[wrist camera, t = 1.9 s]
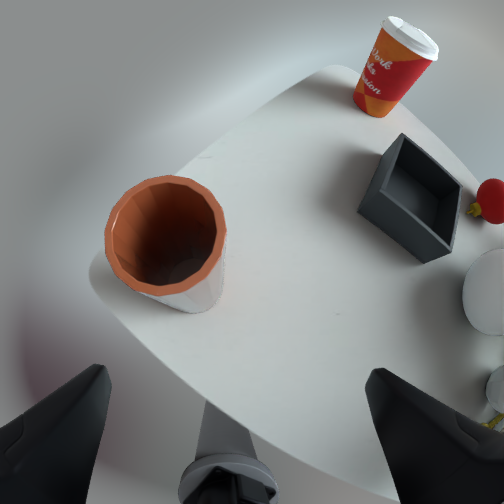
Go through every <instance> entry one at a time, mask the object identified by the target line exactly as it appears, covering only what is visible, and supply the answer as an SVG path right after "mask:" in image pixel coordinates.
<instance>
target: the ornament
mask: <svg viewBox="0 0 504 504" xmlns="http://www.w3.org/2000/svg"><path fill="white" fill-rule="evenodd" d="M462 298H463V307H464V311H465V314H466V316H467V318H468V320H469V322H470V323H471V324H472V326H473V327H474V328H476V329H477V330H478V331H480V332H482V333H484V334H487V335H492V336H499V335H504V249H495V250H491V251H488V252H486V253H484V254H483V255H481V256H480V257H479V258H478V259H477V260H476V261H475V262H474V263H473V264H472V266H471V267H470V269H469V271H468V273H467V275H466V278H465V281H464V285H463V294H462Z"/></svg>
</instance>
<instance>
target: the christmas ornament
mask: <svg viewBox="0 0 504 504" xmlns="http://www.w3.org/2000/svg"><path fill="white" fill-rule="evenodd" d="M466 213H467V214H469V213H471V214H472V215H473V216H474V217H476V216H478V215H481V216H482V217H483V218H484V219H485V220H486V221H488V222H489V223H492V224H502V223H504V182H503V181H501V180H499V179H488V180H486V181H484V182H483V183H482V184H481V185H480V187H479V189H478V191H477V196H476V202H475V203H473V204H470V210H469V211H467V212H466Z"/></svg>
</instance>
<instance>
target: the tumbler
mask: <svg viewBox="0 0 504 504" xmlns="http://www.w3.org/2000/svg"><path fill="white" fill-rule="evenodd" d="M226 237H227V229H226V224H225V219H224V213H223V209H222V207H221V206H220V204H219V203H218V201H217V200H216V199H215V197H214V196H213V194H212V193H211V191H209V190H208V189H207V188H205V187H204V186H202V185H200V184H199V183H197V182H196V181H194V180H192V179H190V178H185V177H179V176H172V175H166V176H160V177H155V178H151V179H147V180H144V181H143V182H141V183H139V184H138V185H136V186H134V187H133V188H131V189H130V190H128V191H127V192H126V193H125V194H124V195H123V196H122V197H121V199H120V200H119V201H118V202H117V203H116V205H115V206H114V207H113V209H112V211H111V213H110V216H109V219H108V222H107V225H106V228H105V253H106V257H107V259H108V261H109V263H110V265H111V267H112V269H113V271H114V273H115V275H116V276H117V277H118V278H119V279H121V280H122V281H123V282H124V283H125V284H127V285H128V286H129V287H130V288H131V289H133V290H135V291H137V292H139V293H141V294H143V295H146V296H148V297H150V298H152V299H154V300H157V301H159V302H161V303H164V304H166V305H168V306H171V307H173V308H175V309H178V310H180V311H183V312H187V313H201V312H204V311H207V310H208V309H210V308H211V307H213V306H214V305H215V304H216V302H217V301H218V300H219V298H220V296H221V293H222V289H223V282H224V266H225V251H226Z"/></svg>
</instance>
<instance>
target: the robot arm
mask: <svg viewBox="0 0 504 504" xmlns="http://www.w3.org/2000/svg"><path fill="white" fill-rule="evenodd" d="M111 385H112V384H111V380H110V378H109V374H108V371H107V368H106V367H105V366H104V365H100V364H93V365H91V366H90V367H88V368H87V369H86V370H84V371H83V372H81V373H80V374H78V375H77V376H75V377H74V378H73V379H71V380H70V381H68V382H67V383H65V384H64V385H63V386H61V387H60V388H58V389H57V390H56V391H54V392H53V393H51V394H50V395H48V396H47V397H46V398H44V399H43V400H41V401H40V402H38V403H37V404H36V405H34V406H33V407H31V408H30V409H28V410H27V411H26V412H24V414H21V415H20V416H18V417H17V418H16V419H14V420H12V421H11V422H9V423H8V424H6V425H5V426H3V427H1V428H0V504H86V499H87V494H88V489H89V485H90V480H91V476H92V471H93V467H94V463H95V459H96V455H97V452H98V448H99V444H100V440H101V437H102V433H103V430H104V426H105V421H106V415H107V410H108V404H109V398H110V394H111V388H112V386H111ZM365 392H366V396H367V399H368V403H369V407H370V411H371V415H372V419H373V423H374V426H375V429H376V432H377V435H378V437H379V440H380V443H381V446H382V448H383V451H384V454H385V457H386V460H387V463H388V466H389V469H390V472H391V475H392V478H393V481H394V484H395V487H396V490H397V493H398V496H399V500H400V503H401V504H504V434H503V433H500V432H498V431H495V430H493V429H491V428H488V427H486V426H484V425H482V424H479V423H477V422H475V421H473V420H471V419H469V418H467V417H466V416H464V415H462V414H460V413H459V412H457V411H455V410H453V409H452V408H450V407H448V406H446V405H445V404H443V403H441V402H440V401H438V400H436V399H435V398H433V397H431V396H429V395H428V394H426V393H424V392H423V391H421V390H419V389H418V388H416V387H415V386H413V385H411V384H410V383H408V382H406V381H405V380H403V379H401V378H400V377H398V376H396V375H395V374H393V373H392V372H390V371H388V370H387V369H385V368H377V369H373V370H372V372H371V374H370V376H369V378H368V381H367V383H366V385H365ZM216 470H220V471H221V472H216ZM269 492H272V493H269ZM275 495H276V490H275V489H274V488H272V487H269V486H266V485H264V484H263V483H262V482H260V481H257V480H255V479H252V478H250V477H248V476H245V475H243V474H237V473H234V472H232V471H230V470H228V469H226V468H223V467H221V466H215V467H214V468H213V469H212V470H211V471H210V472H209V473H208V475H207V476H206V477H205V478H204V479H203V480H202V481H201V483H200V484H199V485H198V486H197V487H196V488H195V489H194V490H193V491H192V493H191V494H190V495H189V496H188V497H187V498H186V499H185V500H184V501H183V504H187V503H188V504H270V502H269V501H270V500H271V499H272V498H273V497H274V496H275Z"/></svg>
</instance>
